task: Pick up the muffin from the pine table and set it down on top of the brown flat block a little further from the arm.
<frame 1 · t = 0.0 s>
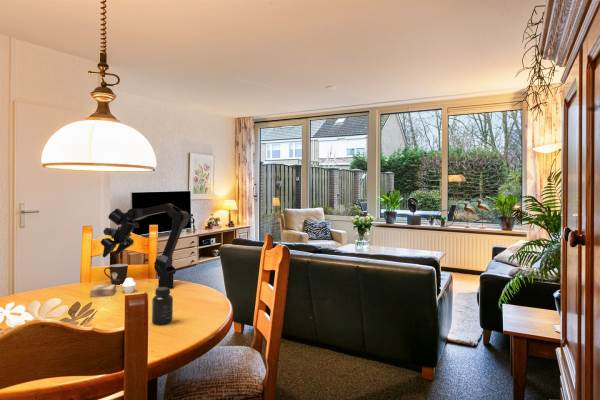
hand: (109, 255, 184), 15 cm above the table, tool tilted 35°, fingers open, 9 cm apart
coffee mug: (116, 284, 185), on the table
muffin: (128, 292, 169), on the table
brown flat block: (103, 294, 165), on the table
supplement bottle: (162, 323, 127), on the table
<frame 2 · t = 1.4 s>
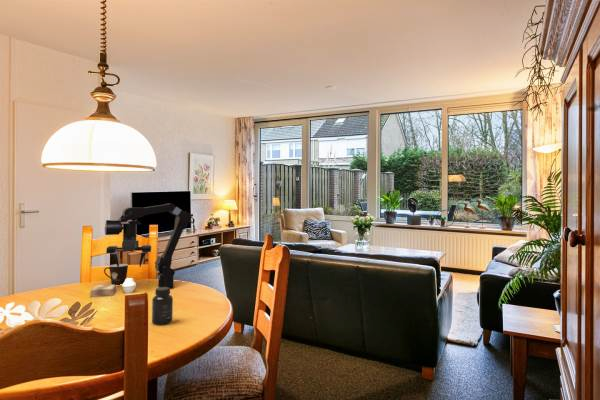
hand: (129, 267, 169), 12 cm above the table, tool pointing down, fingers open, 9 cm apart
nothing on the table moved.
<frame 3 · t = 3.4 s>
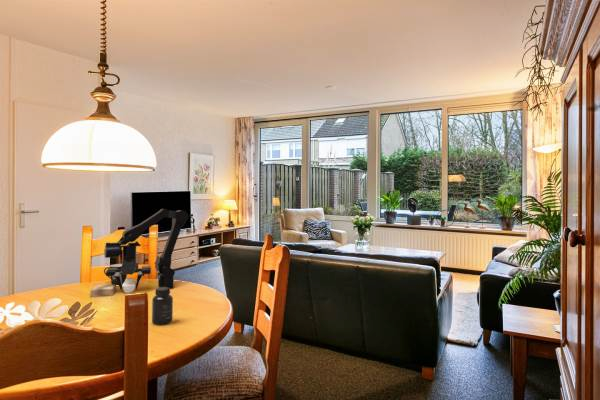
hand: (128, 289, 169), 1 cm above the table, tool pointing down, fingers closed on muffin, 6 cm apart
muffin: (128, 292, 169), on the table, touching gripper
everything else where it was.
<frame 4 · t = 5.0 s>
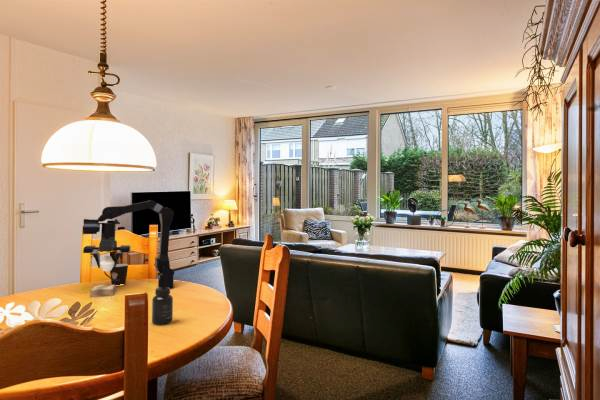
hand: (107, 267, 166), 12 cm above the table, tool pointing down, fingers closed on muffin, 6 cm apart
muffin: (107, 271, 166), point 10 cm above the table, touching gripper
everything else where it was.
when the fingers open (5 cm above the table, at t = 6.9 s): muffin stays where it is, resting on brown flat block.
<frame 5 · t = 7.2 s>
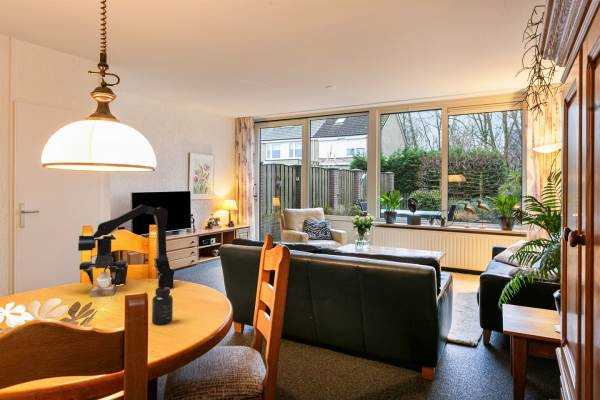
hand: (103, 283, 165), 5 cm above the table, tool pointing down, fingers open, 9 cm apart
muffin: (103, 287, 165), point 3 cm above the table, touching brown flat block
everything else where it was.
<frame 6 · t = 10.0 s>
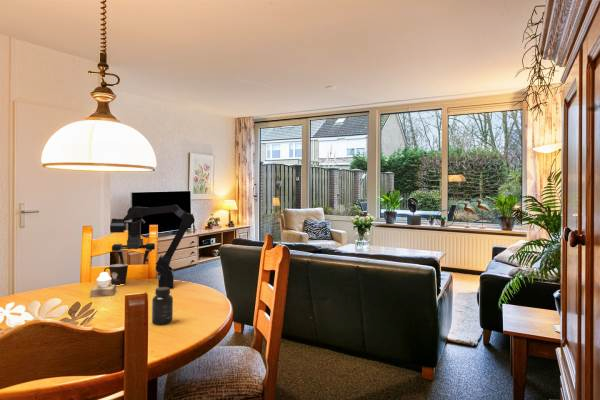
hand: (133, 264, 175), 12 cm above the table, tool pointing down, fingers open, 9 cm apart
nothing on the table moved.
at the end: muffin 0.1 cm from the brown flat block (horizontally); muffin point 3.1 cm above the table; the gripper is holding nothing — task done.
